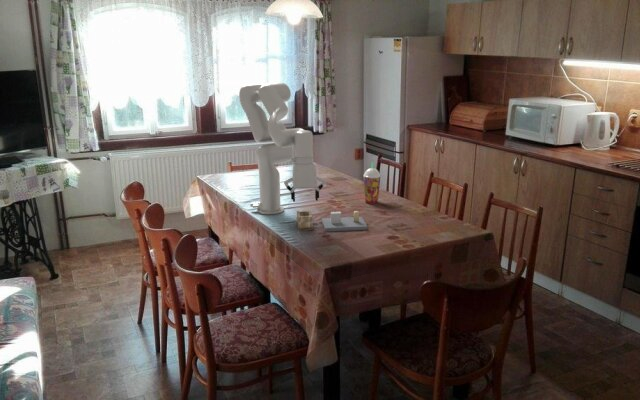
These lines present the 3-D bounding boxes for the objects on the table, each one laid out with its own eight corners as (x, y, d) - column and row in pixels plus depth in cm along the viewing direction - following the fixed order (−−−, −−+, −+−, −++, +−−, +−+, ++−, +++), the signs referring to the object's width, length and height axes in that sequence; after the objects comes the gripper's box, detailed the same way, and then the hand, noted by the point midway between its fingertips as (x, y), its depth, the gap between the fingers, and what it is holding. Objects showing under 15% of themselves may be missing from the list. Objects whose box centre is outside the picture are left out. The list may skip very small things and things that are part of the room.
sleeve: (298, 230, 227) (298, 217, 225) (297, 224, 234) (296, 211, 232) (312, 229, 227) (312, 216, 226) (310, 223, 235) (310, 210, 233)
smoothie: (359, 200, 268) (360, 161, 262) (374, 199, 271) (375, 160, 266) (367, 205, 261) (368, 165, 255) (382, 203, 264) (384, 163, 258)
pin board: (324, 231, 225) (324, 217, 224) (321, 221, 238) (321, 208, 236) (367, 229, 227) (367, 216, 226) (361, 219, 240) (361, 207, 238)
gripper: (283, 163, 218) (285, 203, 222) (325, 161, 220) (326, 201, 224) (282, 159, 225) (284, 199, 229) (323, 158, 227) (324, 197, 231)
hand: (305, 200), depth 227 cm, fingers open, 9 cm apart
